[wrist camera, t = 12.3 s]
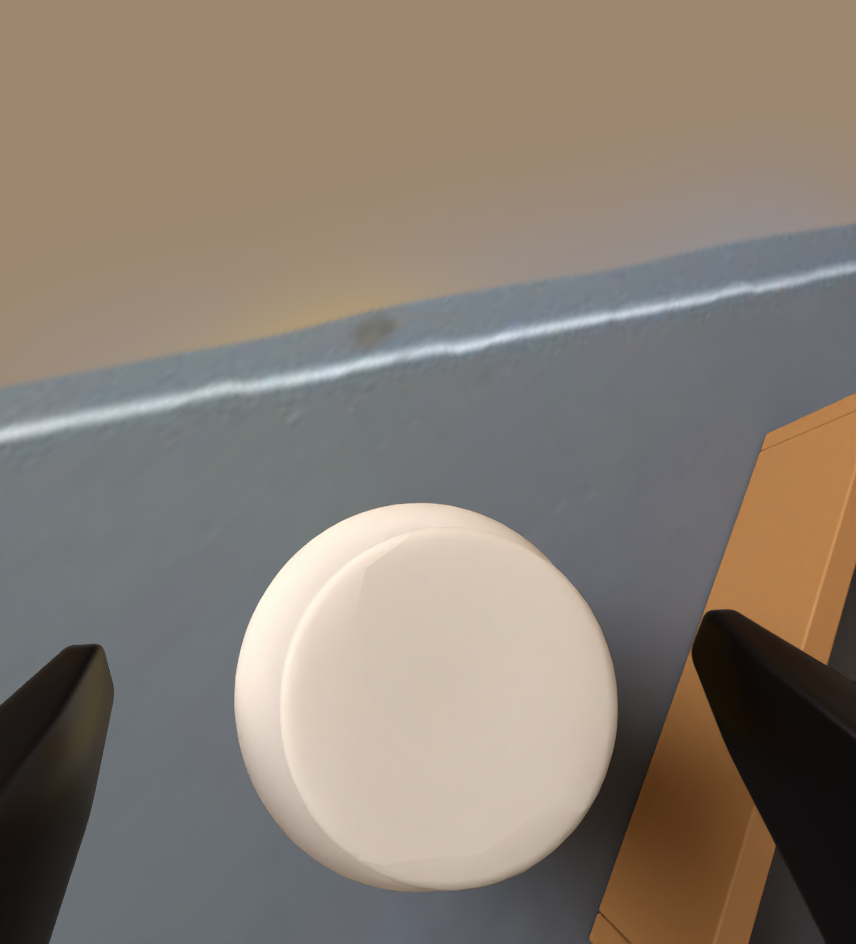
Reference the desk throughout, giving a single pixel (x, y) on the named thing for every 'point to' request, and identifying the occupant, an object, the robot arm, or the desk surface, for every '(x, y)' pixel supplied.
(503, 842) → the supplement bottle
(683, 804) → the storage box
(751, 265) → the desk surface
